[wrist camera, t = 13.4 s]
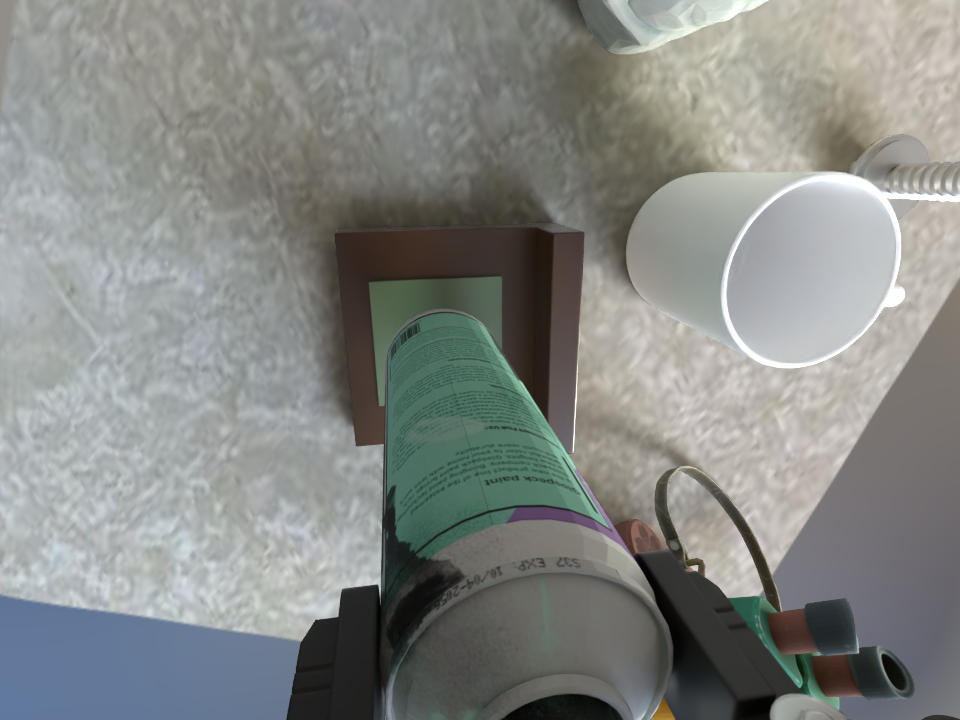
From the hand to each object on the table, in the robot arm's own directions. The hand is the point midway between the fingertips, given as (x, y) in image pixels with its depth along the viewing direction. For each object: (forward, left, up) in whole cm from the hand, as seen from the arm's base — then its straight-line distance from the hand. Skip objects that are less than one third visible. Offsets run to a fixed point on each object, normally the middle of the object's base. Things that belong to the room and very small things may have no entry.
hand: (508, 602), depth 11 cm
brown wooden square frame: (+1, 0, -21) cm, 21 cm away
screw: (+26, +8, -21) cm, 35 cm away
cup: (+17, +4, -21) cm, 28 cm away
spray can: (0, 0, -16) cm, 16 cm away
